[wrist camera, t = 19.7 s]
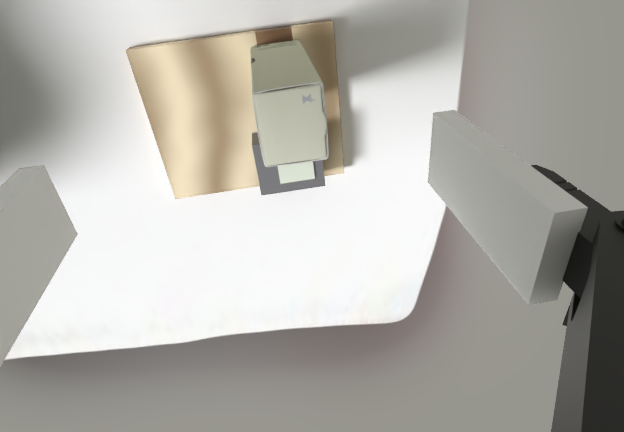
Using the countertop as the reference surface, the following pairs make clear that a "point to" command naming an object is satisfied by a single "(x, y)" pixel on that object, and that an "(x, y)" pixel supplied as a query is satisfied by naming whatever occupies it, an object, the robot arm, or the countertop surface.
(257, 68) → the box
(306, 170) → the gray block
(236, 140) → the board
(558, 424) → the robot arm
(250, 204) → the countertop surface
